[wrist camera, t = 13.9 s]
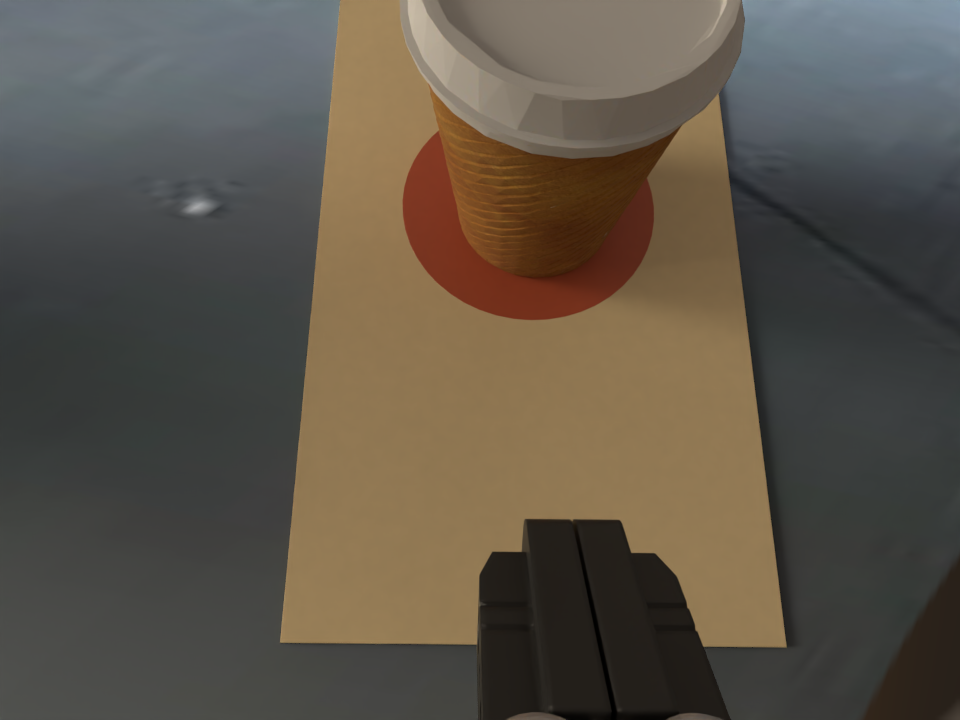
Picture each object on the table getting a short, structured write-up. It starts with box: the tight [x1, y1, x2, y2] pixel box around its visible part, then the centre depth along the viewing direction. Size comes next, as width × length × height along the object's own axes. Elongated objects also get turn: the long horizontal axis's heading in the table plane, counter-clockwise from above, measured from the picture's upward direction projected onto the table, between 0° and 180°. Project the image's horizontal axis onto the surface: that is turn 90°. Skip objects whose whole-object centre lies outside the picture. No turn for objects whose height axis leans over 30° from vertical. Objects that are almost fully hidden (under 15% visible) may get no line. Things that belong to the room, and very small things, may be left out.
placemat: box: [280, 0, 787, 647], centre depth 31 cm, size 17×34×1 cm, turn 179°
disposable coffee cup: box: [400, 0, 745, 278], centre depth 25 cm, size 10×10×12 cm
